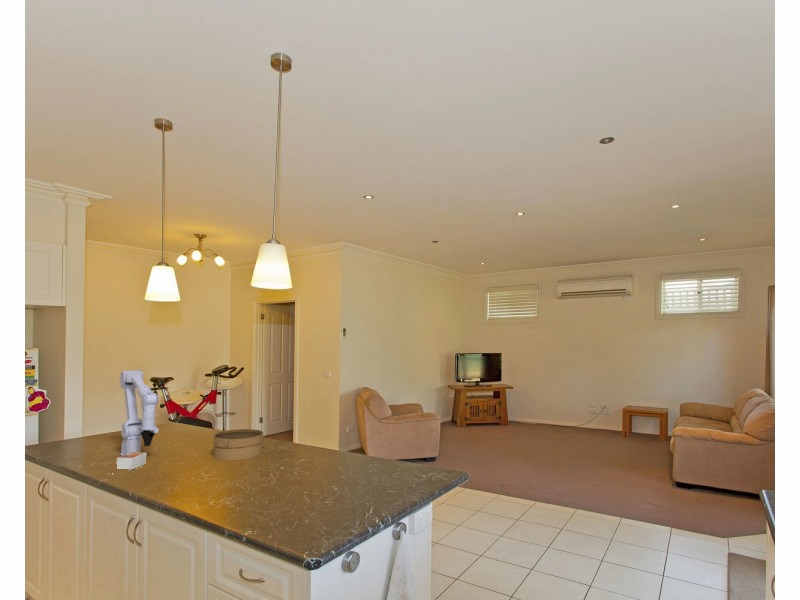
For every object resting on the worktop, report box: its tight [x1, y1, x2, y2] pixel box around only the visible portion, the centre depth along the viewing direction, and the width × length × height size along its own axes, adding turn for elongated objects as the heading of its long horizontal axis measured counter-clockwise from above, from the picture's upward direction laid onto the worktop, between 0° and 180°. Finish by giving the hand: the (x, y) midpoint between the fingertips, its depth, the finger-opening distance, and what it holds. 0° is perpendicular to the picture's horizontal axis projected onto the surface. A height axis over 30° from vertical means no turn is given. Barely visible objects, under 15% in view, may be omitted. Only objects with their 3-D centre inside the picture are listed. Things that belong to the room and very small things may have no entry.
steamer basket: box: [213, 428, 264, 461], centre depth 248 cm, size 25×25×11 cm
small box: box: [116, 452, 147, 471], centre depth 224 cm, size 8×6×10 cm
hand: (147, 446), depth 235 cm, fingers closed
